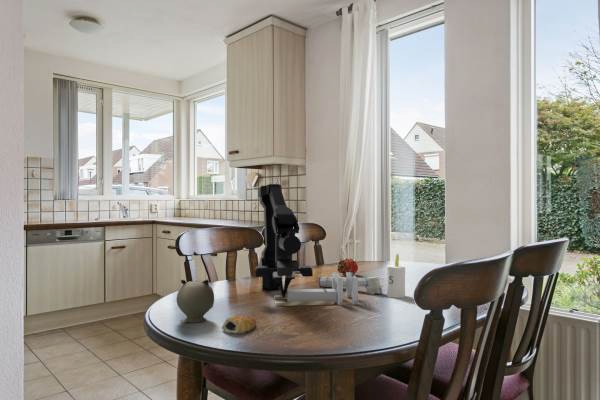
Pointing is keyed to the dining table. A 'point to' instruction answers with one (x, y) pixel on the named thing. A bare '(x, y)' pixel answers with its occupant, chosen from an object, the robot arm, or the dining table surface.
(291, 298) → the gray rectangular bar
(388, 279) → the candle
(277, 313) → the dining table surface
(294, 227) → the robot arm
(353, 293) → the slotted u bracket
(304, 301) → the guide rails
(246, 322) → the pastry
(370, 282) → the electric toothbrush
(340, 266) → the dragon fruit
